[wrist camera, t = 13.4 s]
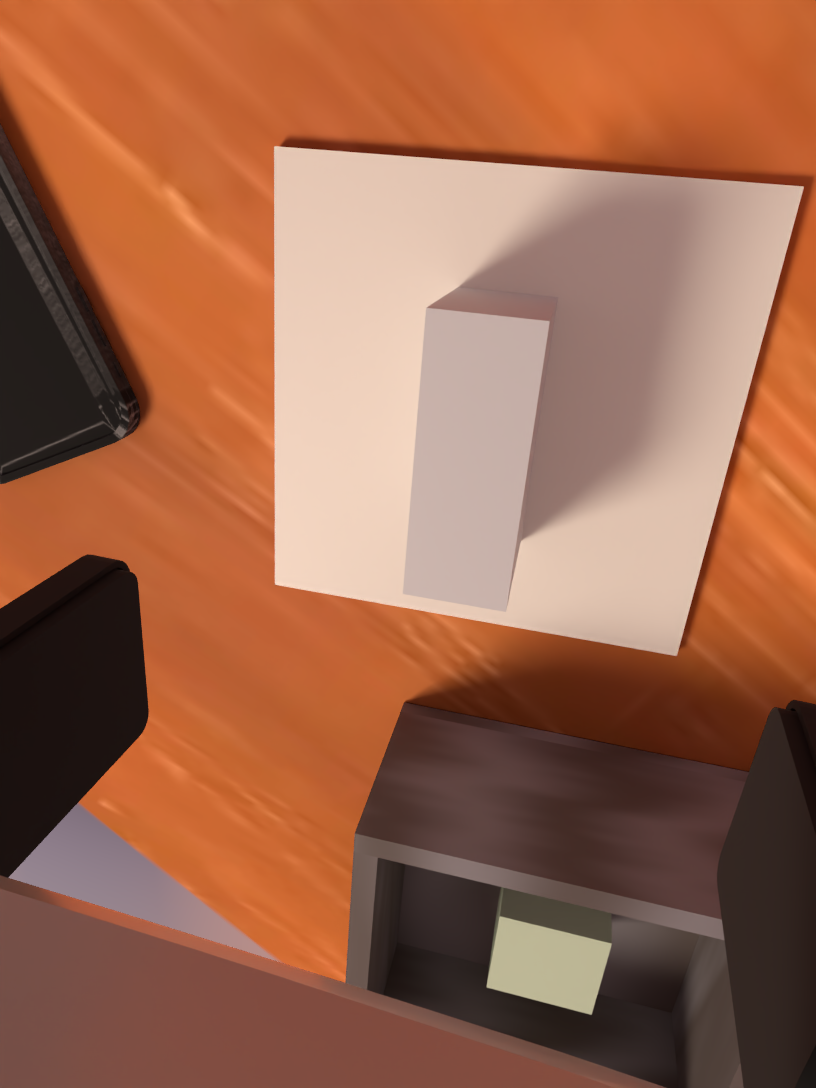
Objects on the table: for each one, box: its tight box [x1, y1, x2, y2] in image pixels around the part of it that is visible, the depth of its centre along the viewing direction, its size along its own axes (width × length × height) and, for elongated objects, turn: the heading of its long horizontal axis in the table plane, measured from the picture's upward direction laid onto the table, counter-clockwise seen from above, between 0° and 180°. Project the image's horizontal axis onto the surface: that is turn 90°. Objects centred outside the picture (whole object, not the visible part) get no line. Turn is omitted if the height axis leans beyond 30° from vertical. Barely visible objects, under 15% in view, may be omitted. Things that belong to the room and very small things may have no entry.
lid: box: [274, 146, 804, 656], centre depth 23 cm, size 15×15×6 cm
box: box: [346, 702, 749, 1088], centre depth 29 cm, size 14×14×7 cm
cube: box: [487, 887, 612, 1015], centre depth 30 cm, size 4×4×4 cm
